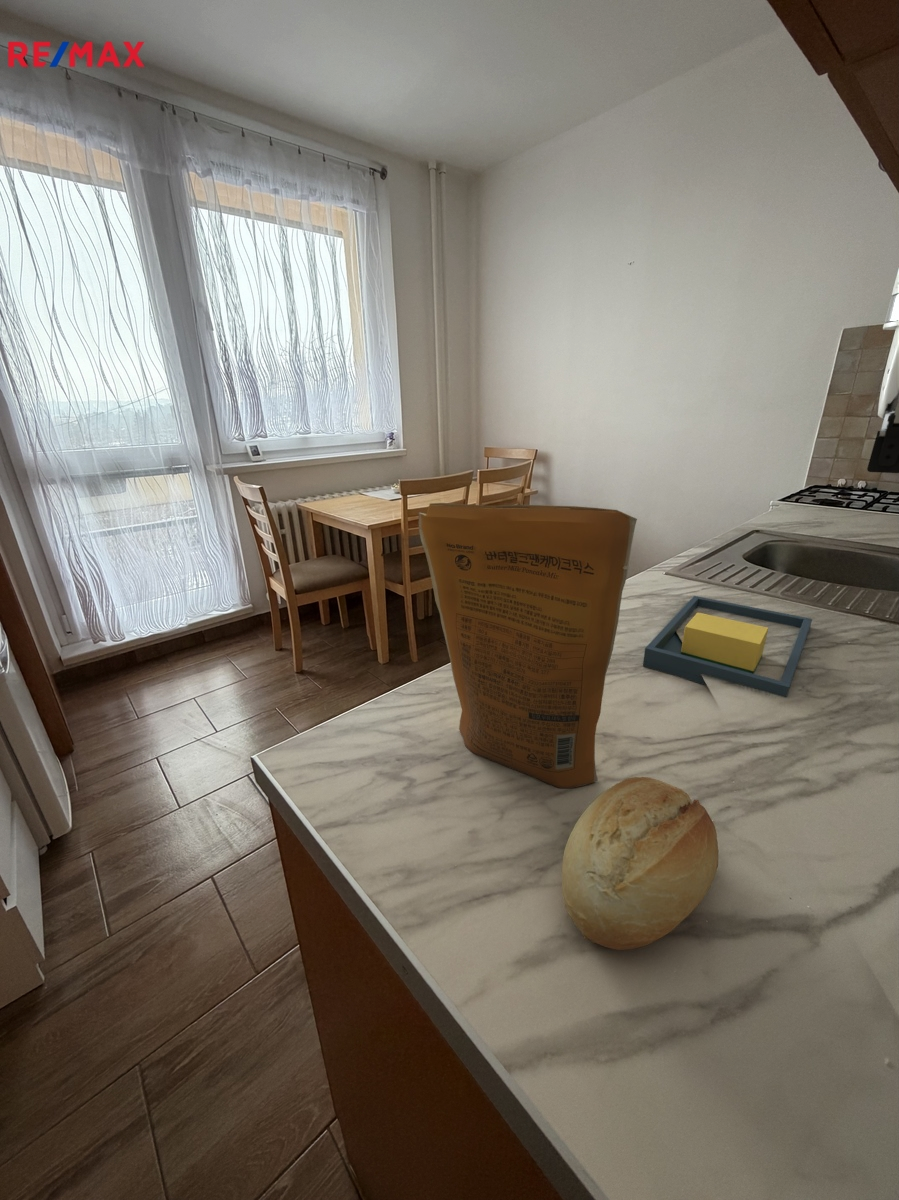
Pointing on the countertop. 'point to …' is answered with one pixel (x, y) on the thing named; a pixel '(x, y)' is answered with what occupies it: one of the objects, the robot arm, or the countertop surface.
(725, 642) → the sponge
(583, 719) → the pancake mix bag
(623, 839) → the bread roll
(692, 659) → the tray
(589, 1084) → the countertop surface
